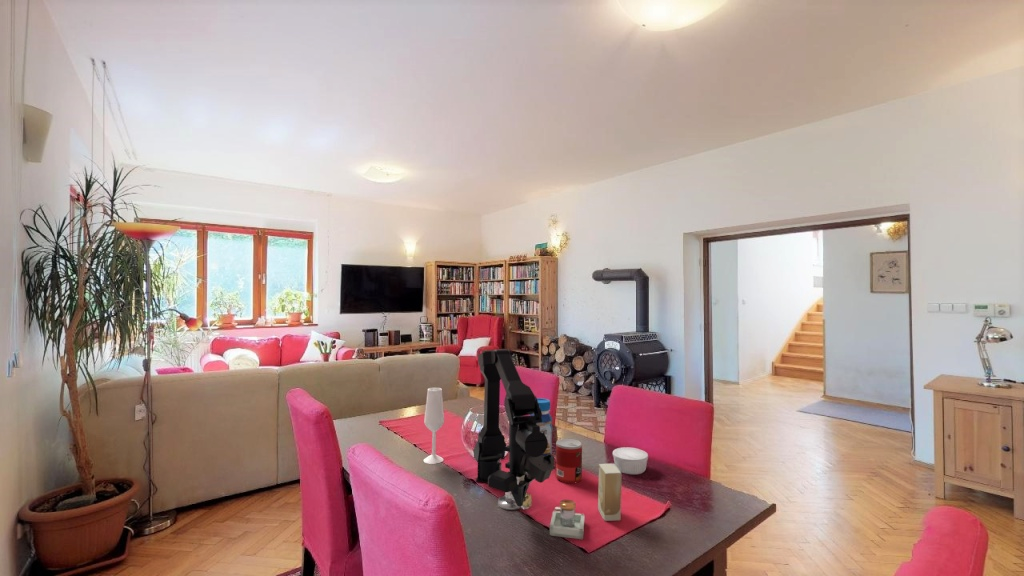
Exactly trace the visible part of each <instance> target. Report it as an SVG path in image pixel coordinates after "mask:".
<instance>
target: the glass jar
mask: <svg viewBox="0 0 1024 576" xmlns="http://www.w3.org/2000/svg"><path fill="white" fill-rule="evenodd" d="M576 506H577V505H576V501H574V500H571V499H562V500H560V502H559V507H560V508H561V510H559V511H560V526H562V527H570V528H575V513H576V508H577V507H576Z"/></svg>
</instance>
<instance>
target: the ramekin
mask: <svg viewBox="0 0 1024 576" xmlns="http://www.w3.org/2000/svg"><path fill="white" fill-rule="evenodd" d="M612 457H613V461H614V462H613V464H615V465H616V467H617V468H618V469H619V471H620V472H621V473H622V474H626V475H634V476H635V475H641V474H643V473H644V472H645V471H646V469H647V464H648V459H649V454H648V452H646V451H645V450H642V449H639V448H637V447H627V446H626V447H624V446H623V447H618V448H615V449H613V451H612Z"/></svg>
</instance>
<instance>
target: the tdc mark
mask: <svg viewBox="0 0 1024 576" xmlns="http://www.w3.org/2000/svg"><path fill="white" fill-rule="evenodd" d="M560 510H561V508H560V506H555V507H554V511H560Z"/></svg>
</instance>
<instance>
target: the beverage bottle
mask: <svg viewBox="0 0 1024 576" xmlns="http://www.w3.org/2000/svg"><path fill="white" fill-rule="evenodd" d="M536 398H537V401H538V403H539V406H540V409H541V412H542V417H541V418H542V423H536V425H538V426H540V431H541V432H542V433H543V434H544V435H545V436H546V438H547V441H548V446H547V449H546V451H545V452H544V453H543V454H542V455H543V456H546V455H548V454H549V453H550V454H552V455H553V451H552V441H553V440H552V439H553V438H552V436H553V435H552V434H553V429H554V427H553V425H552V423H553V417H552V416H551V414H550V411H551V400H550V399H548V398H541V397H536ZM529 416H534V413H533V414H532V415H529Z"/></svg>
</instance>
